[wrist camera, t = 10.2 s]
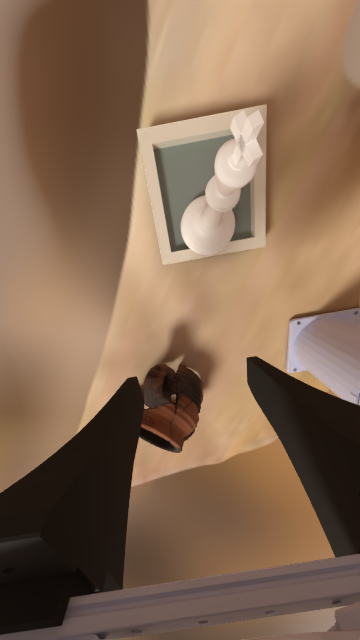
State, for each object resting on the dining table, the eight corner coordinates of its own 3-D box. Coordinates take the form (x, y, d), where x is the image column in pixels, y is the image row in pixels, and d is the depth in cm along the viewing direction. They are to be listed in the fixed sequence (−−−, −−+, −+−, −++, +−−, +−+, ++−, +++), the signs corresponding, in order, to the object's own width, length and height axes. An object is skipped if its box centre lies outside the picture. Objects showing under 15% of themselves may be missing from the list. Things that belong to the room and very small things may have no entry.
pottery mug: (212, 399, 26) (197, 465, 20) (159, 387, 30) (134, 440, 24) (198, 344, 19) (170, 421, 13) (131, 338, 23) (87, 395, 17)
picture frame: (254, 123, 15) (266, 104, 13) (255, 247, 18) (265, 246, 16) (140, 145, 15) (136, 129, 13) (163, 264, 18) (162, 265, 17)
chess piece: (218, 187, 15) (291, -5, 5) (242, 237, 16) (347, 150, 6) (170, 216, 16) (158, 87, 6) (197, 265, 16) (226, 223, 6)
